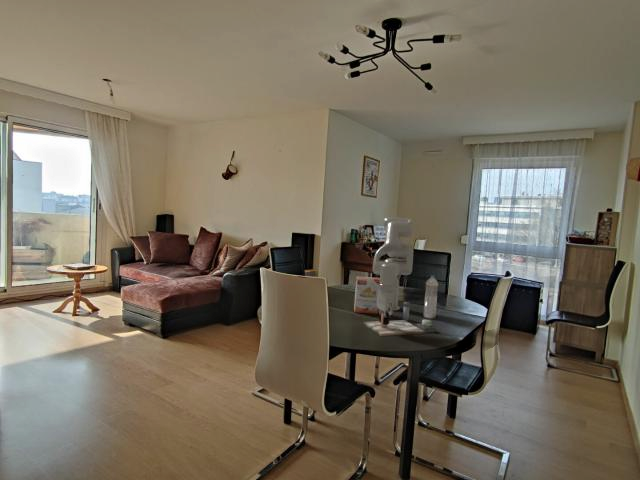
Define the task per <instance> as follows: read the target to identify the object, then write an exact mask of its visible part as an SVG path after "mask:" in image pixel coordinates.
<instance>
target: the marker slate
mask: <svg viewBox="0 0 640 480" xmlns="http://www.w3.org/2000/svg"><path fill="white" fill-rule="evenodd" d="M410 308H411V303H410V302H409V301H408V302H407V301H405V302H403V309H402V310H403V312H402V320H405V321H406V322H408V321H409V319H410V318H409V317H410Z"/></svg>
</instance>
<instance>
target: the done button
mask: <svg viewBox="0 0 640 480" xmlns="http://www.w3.org/2000/svg"><path fill="white" fill-rule="evenodd" d="M421 323H422V326H424V327H431V325H432V320H431V319H427V318H426V319H422V320H421Z"/></svg>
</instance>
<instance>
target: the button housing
mask: <svg viewBox="0 0 640 480" xmlns="http://www.w3.org/2000/svg"><path fill="white" fill-rule="evenodd" d="M416 327H417V328H419V329H421V330H423V331H424V332H425V333H427V334H428V333H436V332H437V327H436V326H434V325H432V324H431V327H424V326H422V322H420V323H416ZM425 333H424V334H425Z"/></svg>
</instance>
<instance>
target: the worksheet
mask: <svg viewBox="0 0 640 480" xmlns="http://www.w3.org/2000/svg"><path fill="white" fill-rule="evenodd" d="M363 325H365V326H366V327H367V328H368V329H370V330H371V329H372V330H371V331H372V332H374V331H375V333H376V334H377V335H379V336H380V337H385V336H387V337H388V336H402V335H417V334H418V335H420V334H425V332H424V331H423V330H421V329H419V328H417V325H413V324H412V323H410V322H408V321H405V320H403V319H401V320H389V325H387V327H381V322H379V320H378V321H377V320H376V321H364V322H363Z"/></svg>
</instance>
